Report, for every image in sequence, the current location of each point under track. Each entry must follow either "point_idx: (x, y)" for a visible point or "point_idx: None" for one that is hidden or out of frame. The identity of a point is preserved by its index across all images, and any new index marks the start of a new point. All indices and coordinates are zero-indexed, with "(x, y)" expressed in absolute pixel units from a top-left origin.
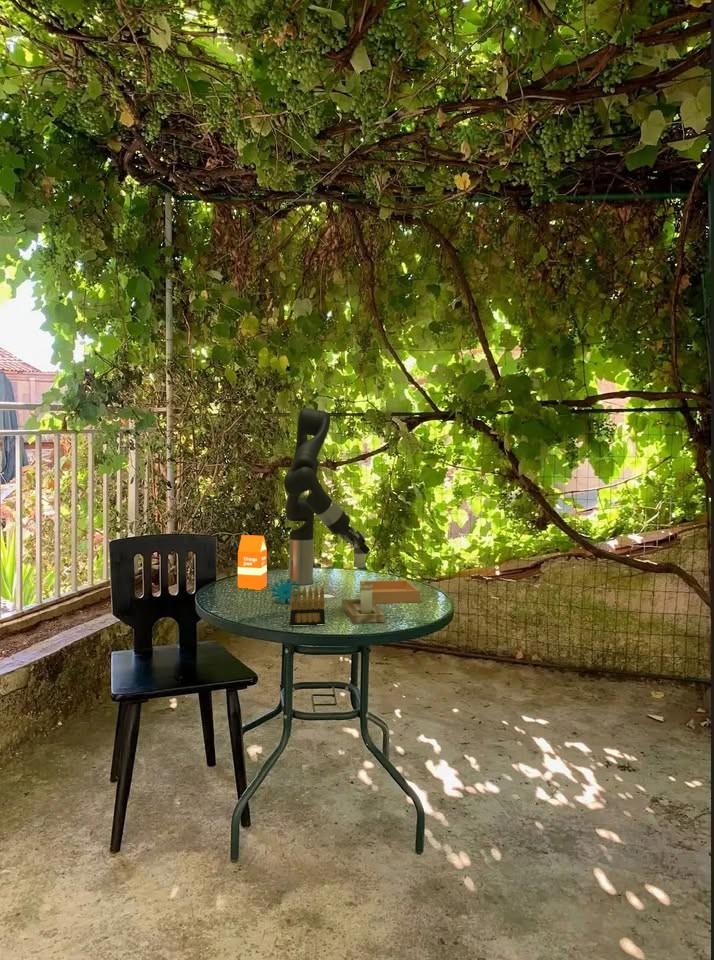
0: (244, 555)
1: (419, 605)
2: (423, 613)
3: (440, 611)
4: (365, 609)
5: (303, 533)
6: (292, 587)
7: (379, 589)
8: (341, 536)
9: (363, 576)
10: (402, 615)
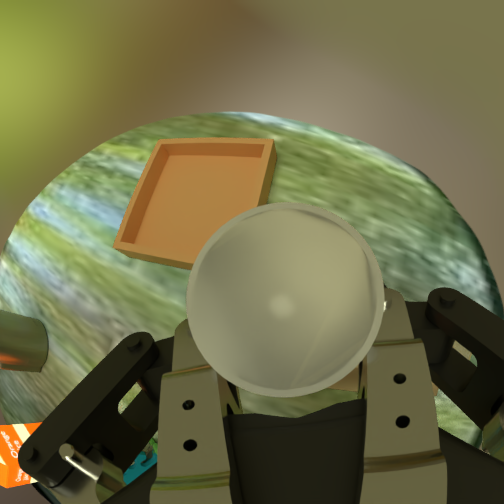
0: (12, 481)
1: (305, 168)
2: (380, 188)
3: (367, 151)
4: None
5: None
6: (139, 468)
7: (148, 210)
8: (132, 456)
9: (51, 207)
10: (390, 241)
